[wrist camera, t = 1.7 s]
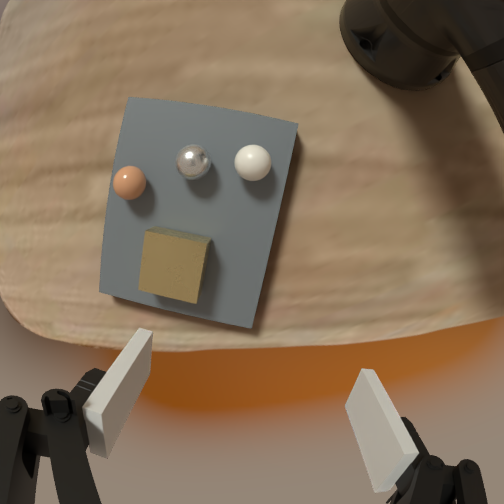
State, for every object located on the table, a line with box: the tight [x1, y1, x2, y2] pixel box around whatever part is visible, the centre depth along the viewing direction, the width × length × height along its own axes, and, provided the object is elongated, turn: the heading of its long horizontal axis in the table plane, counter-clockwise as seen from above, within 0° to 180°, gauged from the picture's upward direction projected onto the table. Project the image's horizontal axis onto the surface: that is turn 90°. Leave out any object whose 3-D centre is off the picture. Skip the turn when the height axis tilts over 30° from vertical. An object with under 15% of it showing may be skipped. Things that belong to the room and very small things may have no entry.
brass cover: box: [138, 226, 211, 304], centre depth 30 cm, size 6×6×3 cm
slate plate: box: [99, 97, 298, 329], centre depth 32 cm, size 22×18×2 cm
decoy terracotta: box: [113, 166, 146, 200], centre depth 29 cm, size 3×3×3 cm
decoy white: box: [234, 145, 271, 181], centre depth 28 cm, size 3×3×3 cm
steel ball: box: [175, 144, 211, 180], centre depth 28 cm, size 3×3×3 cm
